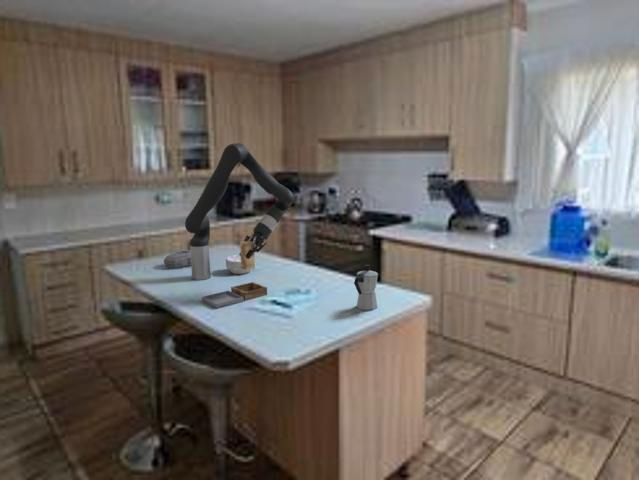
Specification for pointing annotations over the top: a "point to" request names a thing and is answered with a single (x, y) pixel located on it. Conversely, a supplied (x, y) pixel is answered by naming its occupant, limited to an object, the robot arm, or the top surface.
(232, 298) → the tray
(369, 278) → the coffee maker
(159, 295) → the top surface
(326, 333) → the top surface
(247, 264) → the oak peg
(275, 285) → the top surface
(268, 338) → the top surface
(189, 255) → the grey rounded bag
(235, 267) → the paper bowls
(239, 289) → the square wooden frame
